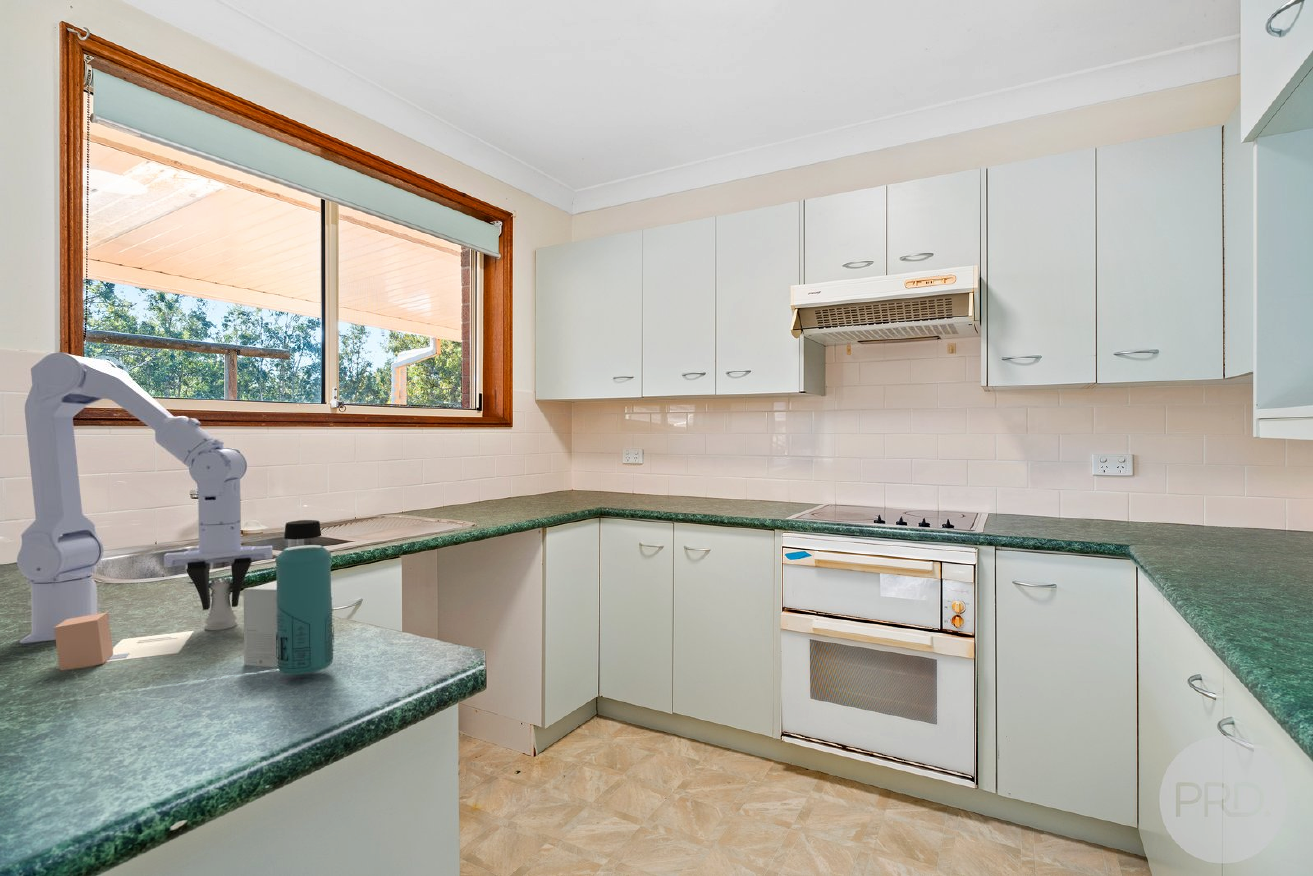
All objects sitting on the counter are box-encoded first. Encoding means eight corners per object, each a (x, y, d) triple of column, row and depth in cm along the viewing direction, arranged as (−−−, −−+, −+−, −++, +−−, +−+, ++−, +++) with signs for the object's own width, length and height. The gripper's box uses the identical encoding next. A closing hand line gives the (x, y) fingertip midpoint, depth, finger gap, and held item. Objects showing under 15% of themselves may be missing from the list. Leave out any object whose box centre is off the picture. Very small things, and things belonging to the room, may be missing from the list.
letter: (122, 641, 100) (122, 638, 100) (193, 632, 104) (193, 630, 104) (97, 665, 90) (97, 662, 90) (178, 654, 94) (178, 652, 94)
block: (72, 662, 91) (66, 619, 91) (113, 654, 93) (107, 612, 93) (60, 672, 87) (53, 627, 87) (103, 663, 89) (97, 620, 89)
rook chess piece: (214, 624, 109) (214, 576, 109) (243, 624, 109) (242, 575, 109) (198, 632, 104) (197, 582, 104) (227, 631, 105) (227, 581, 105)
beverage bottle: (346, 671, 86) (344, 517, 86) (303, 690, 80) (301, 524, 80) (307, 666, 88) (305, 516, 88) (262, 684, 82) (260, 522, 82)
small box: (278, 669, 87) (277, 590, 87) (242, 667, 88) (241, 588, 88) (321, 650, 95) (320, 577, 95) (287, 648, 96) (286, 576, 96)
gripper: (273, 517, 114) (274, 596, 114) (170, 523, 107) (171, 607, 107) (270, 522, 107) (271, 605, 107) (160, 528, 101) (161, 617, 101)
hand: (220, 607), depth 107 cm, fingers open, 3 cm apart
